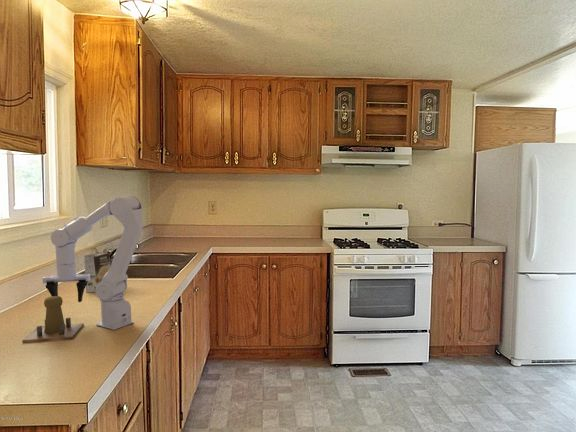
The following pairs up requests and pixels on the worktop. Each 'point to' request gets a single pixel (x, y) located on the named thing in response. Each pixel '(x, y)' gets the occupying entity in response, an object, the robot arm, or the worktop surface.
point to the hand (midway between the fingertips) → (68, 302)
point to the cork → (53, 314)
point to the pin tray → (63, 334)
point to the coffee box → (96, 269)
